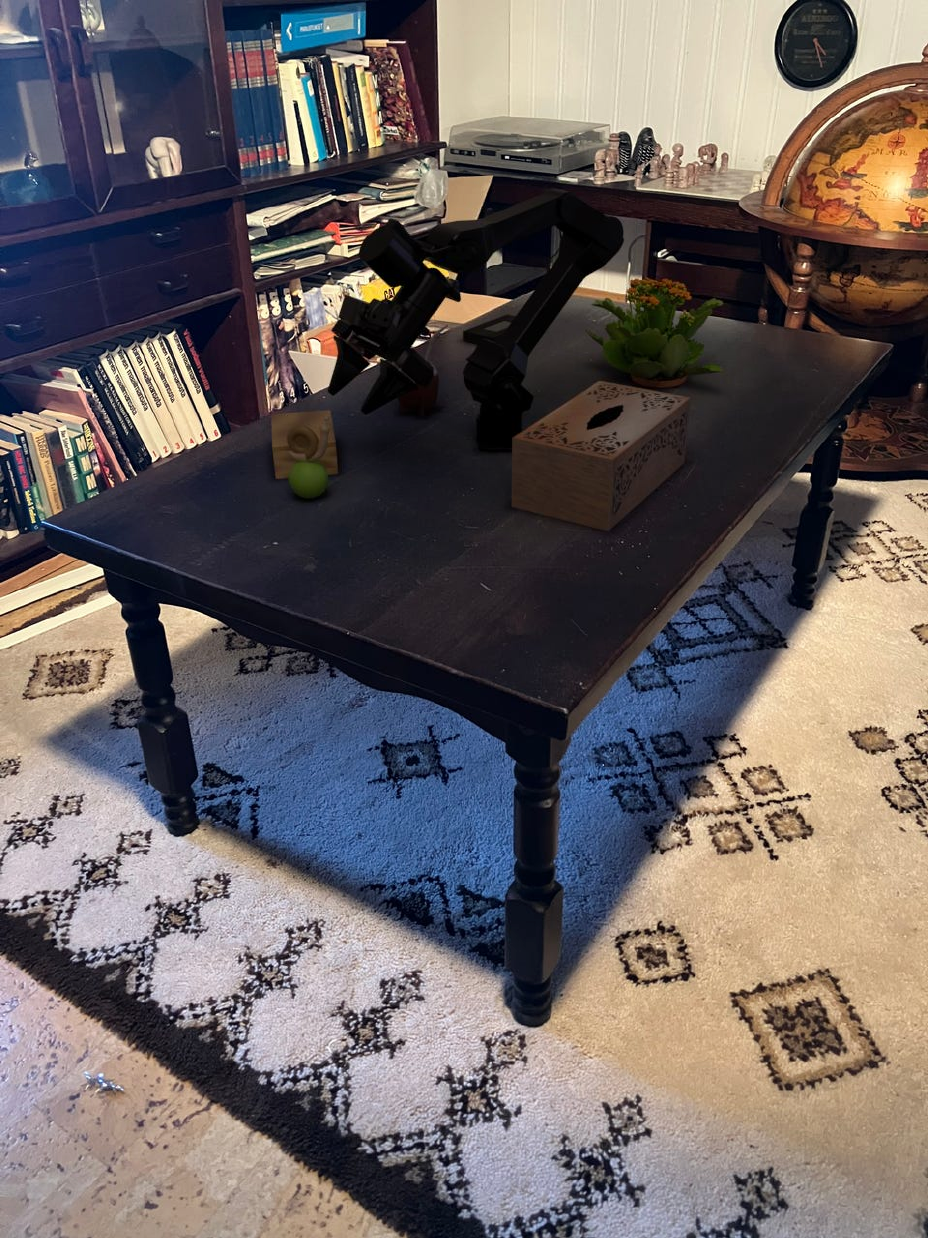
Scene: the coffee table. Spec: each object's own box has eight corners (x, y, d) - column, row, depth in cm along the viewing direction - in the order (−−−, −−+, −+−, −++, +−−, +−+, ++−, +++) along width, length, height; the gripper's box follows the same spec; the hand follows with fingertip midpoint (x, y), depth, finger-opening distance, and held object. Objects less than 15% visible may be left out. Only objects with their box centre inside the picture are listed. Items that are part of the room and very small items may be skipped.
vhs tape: (536, 330, 212) (536, 320, 210) (493, 348, 202) (493, 337, 201) (506, 324, 216) (506, 314, 214) (463, 341, 206) (462, 331, 205)
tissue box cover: (608, 531, 136) (612, 459, 131) (511, 506, 143) (512, 437, 137) (684, 462, 154) (691, 397, 149) (595, 443, 161) (599, 380, 156)
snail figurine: (329, 506, 143) (322, 423, 137) (285, 503, 144) (275, 420, 138) (341, 490, 148) (334, 408, 142) (298, 487, 149) (289, 406, 143)
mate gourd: (392, 407, 176) (387, 317, 168) (437, 401, 178) (434, 312, 170) (404, 422, 170) (399, 330, 162) (450, 416, 172) (448, 325, 164)
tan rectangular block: (332, 440, 164) (330, 409, 161) (338, 474, 153) (335, 441, 150) (274, 444, 162) (271, 414, 160) (275, 479, 151) (272, 446, 149)
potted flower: (759, 386, 181) (773, 283, 172) (657, 416, 170) (667, 307, 161) (658, 351, 199) (666, 255, 190) (561, 375, 188) (564, 275, 179)
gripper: (338, 257, 143) (273, 352, 144) (411, 285, 130) (339, 389, 130) (391, 306, 151) (329, 396, 151) (464, 337, 138) (396, 435, 138)
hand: (346, 403), depth 143 cm, fingers open, 9 cm apart
